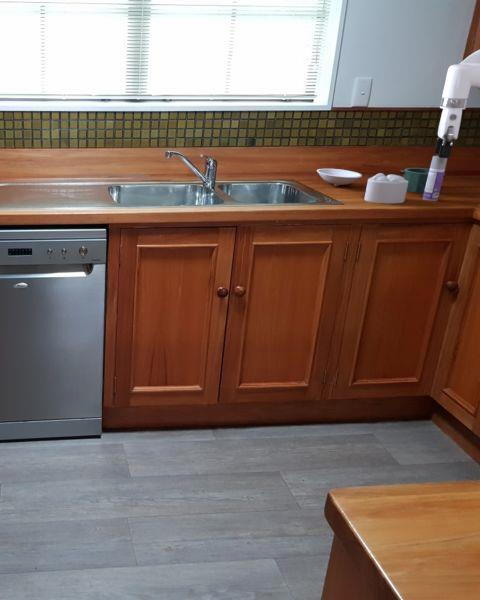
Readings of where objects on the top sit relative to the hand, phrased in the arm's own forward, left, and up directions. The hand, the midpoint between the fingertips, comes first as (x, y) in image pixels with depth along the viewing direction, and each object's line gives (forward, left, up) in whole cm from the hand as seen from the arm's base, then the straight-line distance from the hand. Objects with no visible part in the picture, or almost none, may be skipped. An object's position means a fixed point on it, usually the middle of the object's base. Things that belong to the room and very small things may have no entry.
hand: (441, 155), depth 210 cm
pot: (+2, -16, -16) cm, 22 cm away
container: (0, 0, -16) cm, 16 cm away
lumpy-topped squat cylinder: (+16, +8, -16) cm, 24 cm away
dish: (+31, -11, -16) cm, 37 cm away
